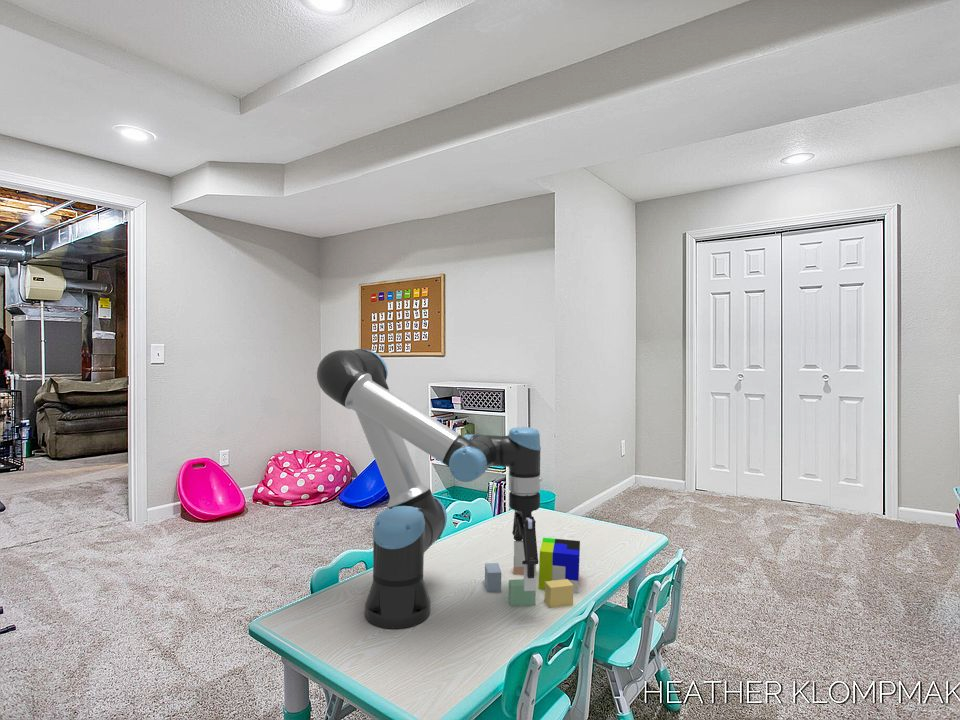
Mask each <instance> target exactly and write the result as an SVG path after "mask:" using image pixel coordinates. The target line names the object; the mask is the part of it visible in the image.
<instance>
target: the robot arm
mask: <svg viewBox="0 0 960 720" xmlns="http://www.w3.org/2000/svg"><path fill="white" fill-rule="evenodd" d="M387 378H388V367H387V364H386V362H385V360H384V359H383V357H382V356H381V355H380V354H378V353H376V352H375V351H373V350H369V349H364V348H356V349H342V350H341V349H340V350H339V349H338V350H335V351H331V352H330V353H328V354H326V355H325V356H324V357H323V358H322V359H321V361H320V362H319V364H318V366H317V370H316V380H317V383H318V386H319V387H320V389H321V390H322V391H323V393H324V394H326V395H327V397H329V398H331V399H332V400H333V401H335V402H336V403H338V404H339V405H341V406H343V407H344V408H346V409H348V410H353V411H354V412H355V414H356V416H357V418H358V421H359V423H360V425H361V428H362V431H363V433H364V436H365V438H366V440H367V443H368V445H369V447H370V450H371V453H372V455H373V458H374V460H375V462H376V465H377V468H378V470H379V473H380V475H381V477H382V480H383V482H384V485H385V488H386V489H387V492H388V495H389V500H388V503H387V508H386V509H384V510H382V511H380V512H379V513H378V514H377V516H376V517H375V519H374V522H373V523H374V524H373V529H372V539H373V540H372V541H373V542H372V545H373V547H372V550H373V553H372V563H373V565H372V573H373V574H372V582H371V586H370V589H369V591H368V595H367V598H366V601H365V603H364V604H365V605H364V616H365V619H366V620H367V621H368V623H370V624H371V625H373V626H376V627H379V628H383V629H404V628H410V627H413V626H416V625H418V624H420V623H422V622H424V621H425V620H427V618H429V616H430V614H431V600H430V595H429V592H428V588H427V587H426V583H425V580H424V561H425V559H424V558H425V557H424V556H425V554H426V553H425V552H427V551H428V549H430V547H431V546H432V545H433V544H434V543H436V542H437V541H438V540H439V539H440V537H441V536H442V534H443V532H444V531H445V528H446V526H447V519H448V516H447V515H448V513H447V510H446V508H445V505H444V503H443V502H442V501H441V500H440V499H438V498H436V497H435V496H434V494H433V493H432V490H431V488H430V486H428V485H426V484H424V483H422V482H421V479H420V476H419V474H418V472H417V470H416V467H415V465H414V461H413V459H412V456H411V454H410V453H409V450H408V448H407V445H406V443H405V441H407V442H408V443H410V444H412V445H413V446H415V447H417V448H418V449H420V450H421V451H423V452H424V453H426V454H428V455H429V456H431V457H433V458H434V459H435V460H437V461H439V462H440V463H442V464H443V465H444V466H447V467H448V468H449V471H450V473H451V475H452V476H453V478H454V479H456V480H457V481H459V482H461V483H462V482H463V483H471V482H473V481H475V480H477V479H479V478H480V477H481V476H483V474H485V472H486V471H487V470H488V469H489V468H490V467H502V468H505V467H506V468H507V467H508V470H509V471H508V472H509V473H508V490H509V494H508V504H509V505H508V506H509V508H510V509H511V510H513V511H514V516H513V526H512V532H511V534H512V535H513V539H514V541H513V568H514V567H524V575H523V579H524V591H536V592H537V565H539V556H538V555H539V554H538V545H537V533H536V532H537V531H536V520H535V518H534V516H533V514H532V512H534V511H538V510H540V507H541V494H540V490H541V484H540V483H541V482H543V477H541V448H542V447H541V438H540V437H541V436H540V434H541V433H540V432H539V430H538V429H536V428H533V427H527V426H521V427H520V426H517V427H512V428H511V429H509V431H508V435H494V434H492V435H491V434H479V433H475V434H465V435H461V434H460V433H458V432H457V431H455V430H453V429H452V428H451V427H449V426H447V425H445V424H443V423H442V422H440V421H439V420H437V419H435V418H434V417H432V416H431V415H429V414H427V413H426V412H424V411H422V410H421V409H419V408H418V407H416V406H414V405H413V404H411V403H410V402H408V401H406V400H405V399H403V398H401V397H400V396H398V395H396V394H395V393H393V392H391V391H390V389H389V385H388V383H387ZM530 558H531V559H530Z"/></svg>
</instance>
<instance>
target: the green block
mask: <svg viewBox="0 0 960 720" xmlns="http://www.w3.org/2000/svg"><path fill="white" fill-rule="evenodd" d="M536 592H537V590H536V591H524V578H521V579H509V580H508V602H509V605H510V606H511V607H519V606H520V607H524V606H525V607H526V606H527V607H528V606H536Z"/></svg>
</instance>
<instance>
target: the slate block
mask: <svg viewBox="0 0 960 720" xmlns="http://www.w3.org/2000/svg"><path fill="white" fill-rule="evenodd" d="M484 584H485V587H486V591H487V592H486V593H494V592H495V593H496V592H497V593H498V592H502V570H501V567H500V564H499V562H485V563H484Z"/></svg>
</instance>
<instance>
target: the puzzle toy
mask: <svg viewBox="0 0 960 720" xmlns="http://www.w3.org/2000/svg"><path fill="white" fill-rule="evenodd" d="M580 550H581V540H575V539H574V540H573V539H561V538H552V537H551V538H550V537H543V538H542V541H541V545H540V549H539V559H538V561H539V562H538V565H539V567H538V570H539V571H538V590H544V591H545V581H554V580H563V579H568V580H569V581H570V582H571V583H572V584H573V585H574V586H573V594H579V584H580V583H579V582H580V556H581V555H580V553H581V551H580Z"/></svg>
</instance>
